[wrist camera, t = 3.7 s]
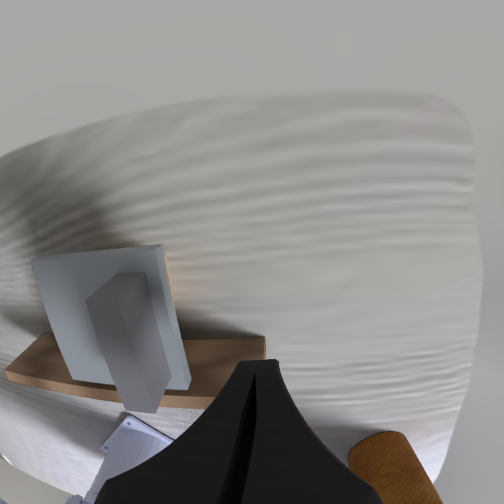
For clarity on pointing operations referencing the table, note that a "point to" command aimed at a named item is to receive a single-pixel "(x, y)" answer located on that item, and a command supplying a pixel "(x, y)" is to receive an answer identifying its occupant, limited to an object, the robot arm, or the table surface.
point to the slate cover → (116, 321)
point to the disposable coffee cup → (392, 470)
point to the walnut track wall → (60, 380)
